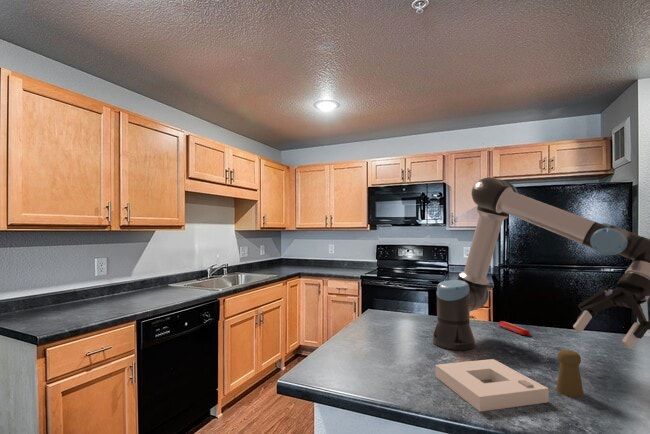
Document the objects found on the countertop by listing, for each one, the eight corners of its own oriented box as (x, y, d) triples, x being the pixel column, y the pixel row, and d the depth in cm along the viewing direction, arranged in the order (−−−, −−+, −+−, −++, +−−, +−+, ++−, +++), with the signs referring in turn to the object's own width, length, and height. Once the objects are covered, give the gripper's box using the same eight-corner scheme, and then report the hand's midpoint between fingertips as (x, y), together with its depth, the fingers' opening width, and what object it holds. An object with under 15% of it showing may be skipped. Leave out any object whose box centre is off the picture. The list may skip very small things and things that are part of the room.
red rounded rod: (532, 337, 140) (532, 329, 140) (524, 337, 140) (524, 330, 140) (503, 326, 156) (503, 319, 156) (496, 326, 155) (496, 320, 155)
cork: (588, 398, 89) (587, 356, 89) (562, 396, 90) (561, 354, 91) (576, 388, 95) (575, 348, 95) (552, 386, 96) (551, 346, 97)
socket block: (435, 376, 102) (435, 363, 103) (493, 370, 107) (493, 357, 107) (479, 411, 83) (479, 394, 83) (548, 402, 87) (548, 386, 87)
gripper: (702, 297, 87) (660, 363, 83) (603, 282, 112) (566, 332, 108) (686, 277, 86) (642, 342, 82) (589, 266, 111) (552, 316, 107)
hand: (599, 337), depth 95 cm, fingers open, 13 cm apart
